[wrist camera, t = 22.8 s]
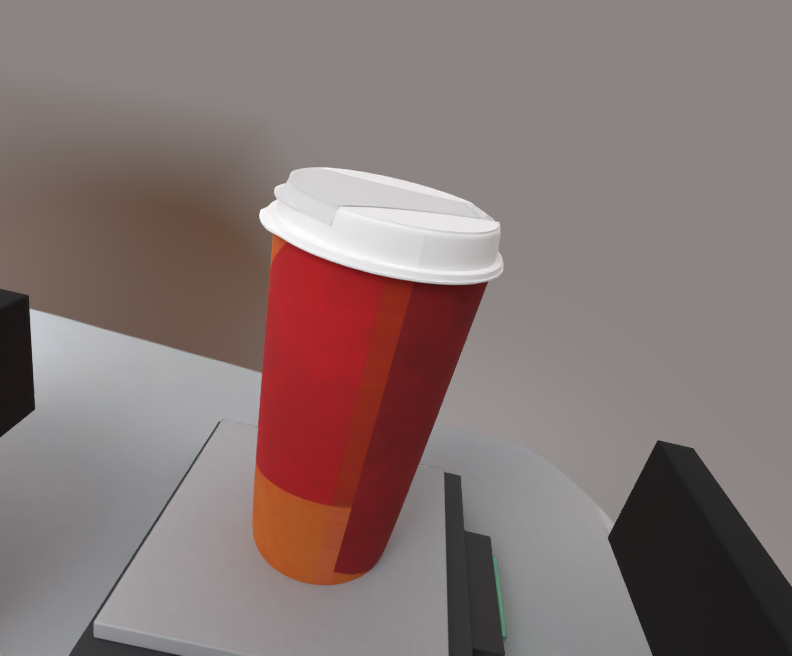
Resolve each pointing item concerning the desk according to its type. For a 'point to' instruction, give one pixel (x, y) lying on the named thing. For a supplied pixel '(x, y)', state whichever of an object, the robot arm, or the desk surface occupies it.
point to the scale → (290, 599)
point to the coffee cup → (357, 358)
